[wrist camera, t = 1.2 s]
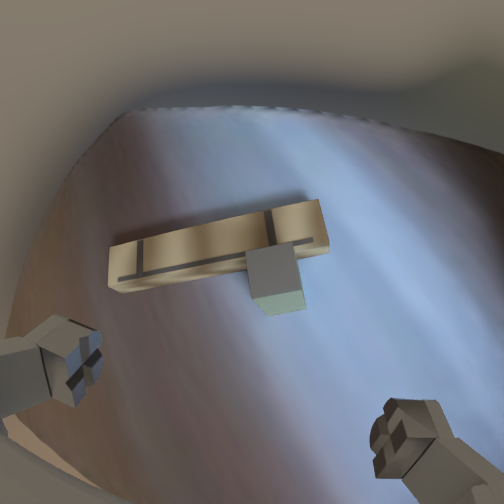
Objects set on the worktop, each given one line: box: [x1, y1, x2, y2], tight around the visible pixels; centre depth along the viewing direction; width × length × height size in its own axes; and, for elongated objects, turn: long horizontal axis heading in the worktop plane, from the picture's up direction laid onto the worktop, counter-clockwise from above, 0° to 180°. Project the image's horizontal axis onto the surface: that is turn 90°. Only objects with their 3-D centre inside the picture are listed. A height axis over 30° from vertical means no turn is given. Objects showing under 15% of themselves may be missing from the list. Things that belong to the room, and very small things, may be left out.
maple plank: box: [108, 199, 329, 293], centre depth 36 cm, size 25×5×3 cm, turn 98°
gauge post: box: [245, 242, 306, 316], centre depth 30 cm, size 4×4×8 cm
